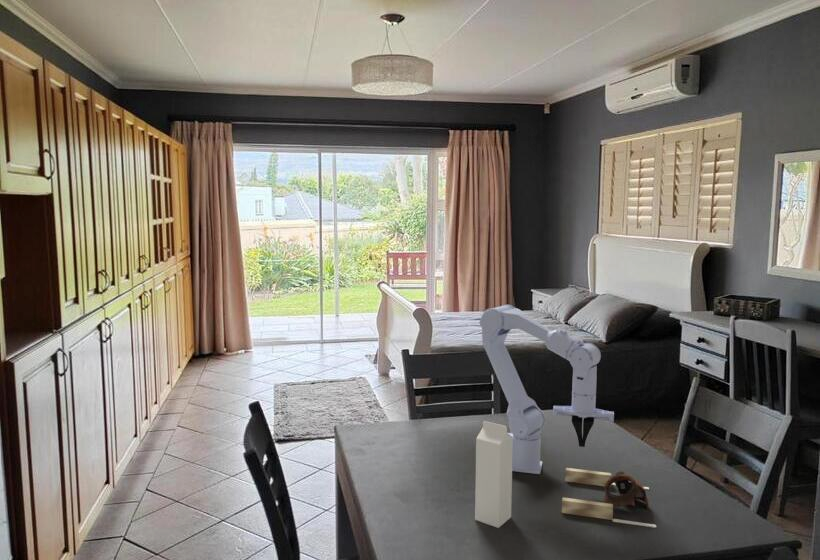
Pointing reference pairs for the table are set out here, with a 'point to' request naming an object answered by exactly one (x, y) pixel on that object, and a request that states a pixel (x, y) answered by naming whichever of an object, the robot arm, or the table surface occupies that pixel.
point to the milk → (493, 474)
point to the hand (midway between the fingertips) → (581, 445)
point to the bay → (632, 521)
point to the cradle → (582, 505)
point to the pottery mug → (625, 491)
